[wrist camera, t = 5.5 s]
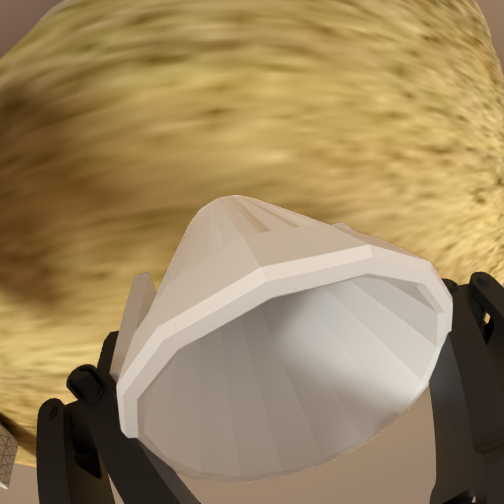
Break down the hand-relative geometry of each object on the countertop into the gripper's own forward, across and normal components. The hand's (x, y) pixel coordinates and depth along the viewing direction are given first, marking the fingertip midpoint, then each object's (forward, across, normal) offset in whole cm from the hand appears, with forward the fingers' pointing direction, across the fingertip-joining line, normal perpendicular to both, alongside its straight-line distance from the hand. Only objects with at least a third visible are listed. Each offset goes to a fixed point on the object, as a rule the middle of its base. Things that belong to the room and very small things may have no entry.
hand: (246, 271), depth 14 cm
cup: (+4, 0, 0) cm, 4 cm away
